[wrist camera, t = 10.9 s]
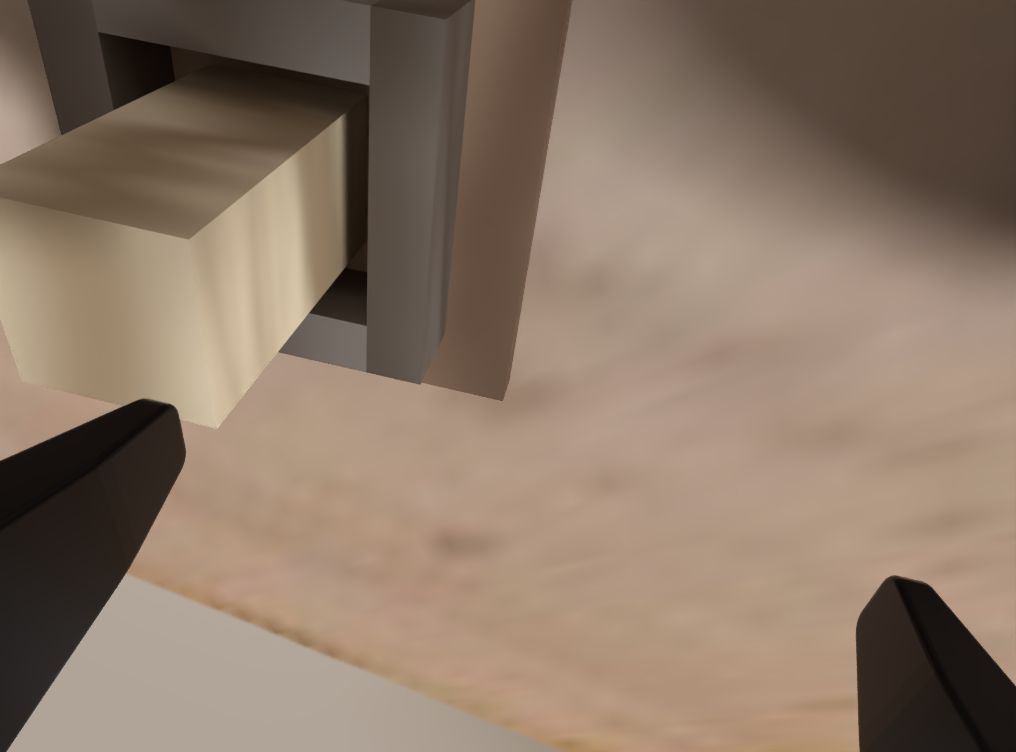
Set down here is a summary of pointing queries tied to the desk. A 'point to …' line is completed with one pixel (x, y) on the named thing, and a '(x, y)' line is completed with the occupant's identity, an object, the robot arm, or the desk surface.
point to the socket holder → (372, 150)
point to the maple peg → (180, 238)
